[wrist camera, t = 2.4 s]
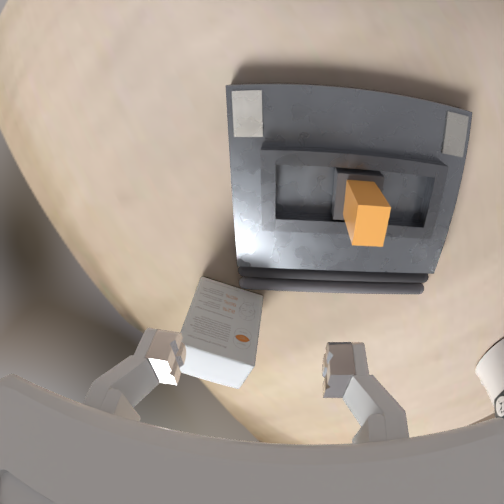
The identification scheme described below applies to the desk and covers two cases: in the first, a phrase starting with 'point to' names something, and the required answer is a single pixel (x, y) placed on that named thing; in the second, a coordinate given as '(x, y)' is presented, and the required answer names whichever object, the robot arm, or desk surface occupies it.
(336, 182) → the lever
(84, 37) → the desk surface
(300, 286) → the twin grey rods
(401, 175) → the breaker panel
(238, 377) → the small box
